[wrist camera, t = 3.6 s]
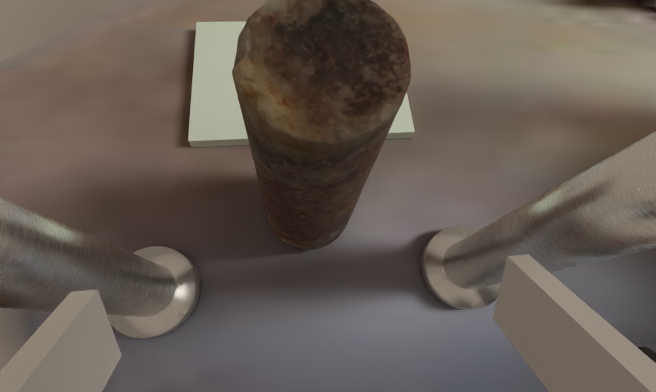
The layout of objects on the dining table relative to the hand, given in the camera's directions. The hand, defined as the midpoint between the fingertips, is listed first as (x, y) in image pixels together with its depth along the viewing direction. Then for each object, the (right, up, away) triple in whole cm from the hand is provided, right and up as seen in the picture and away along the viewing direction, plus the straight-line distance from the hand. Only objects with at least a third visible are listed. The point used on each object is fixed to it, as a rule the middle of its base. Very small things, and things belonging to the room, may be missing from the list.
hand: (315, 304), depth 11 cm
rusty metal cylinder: (-1, +2, +20) cm, 20 cm away
